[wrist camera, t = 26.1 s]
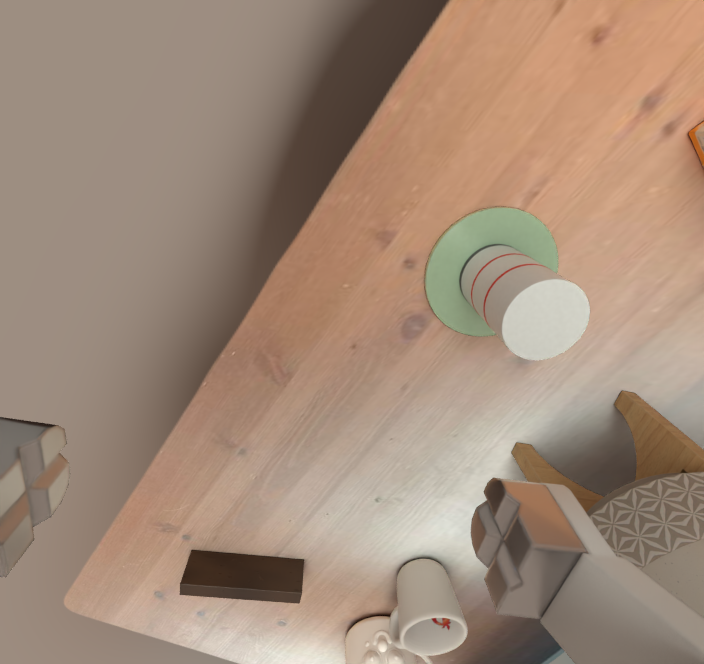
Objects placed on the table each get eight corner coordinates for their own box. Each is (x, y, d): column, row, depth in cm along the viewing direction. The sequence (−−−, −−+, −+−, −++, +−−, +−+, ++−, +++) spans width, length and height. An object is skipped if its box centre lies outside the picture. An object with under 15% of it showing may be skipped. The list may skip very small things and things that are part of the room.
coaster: (409, 323, 39) (410, 326, 38) (446, 193, 34) (447, 194, 33) (526, 342, 40) (528, 345, 40) (577, 221, 35) (581, 222, 35)
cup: (409, 607, 58) (420, 674, 50) (365, 587, 55) (370, 654, 48) (462, 565, 54) (482, 630, 47) (417, 542, 52) (432, 607, 45)
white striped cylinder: (452, 378, 35) (522, 334, 25) (451, 263, 39) (512, 183, 28) (518, 385, 36) (614, 347, 25) (510, 272, 40) (591, 198, 29)
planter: (484, 507, 50) (622, 834, 26) (547, 377, 42) (821, 674, 19) (621, 524, 52) (858, 837, 29) (704, 404, 45) (1118, 697, 21)
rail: (191, 560, 51) (179, 595, 47) (191, 549, 50) (180, 584, 47) (301, 569, 53) (299, 603, 49) (303, 559, 52) (301, 593, 48)
